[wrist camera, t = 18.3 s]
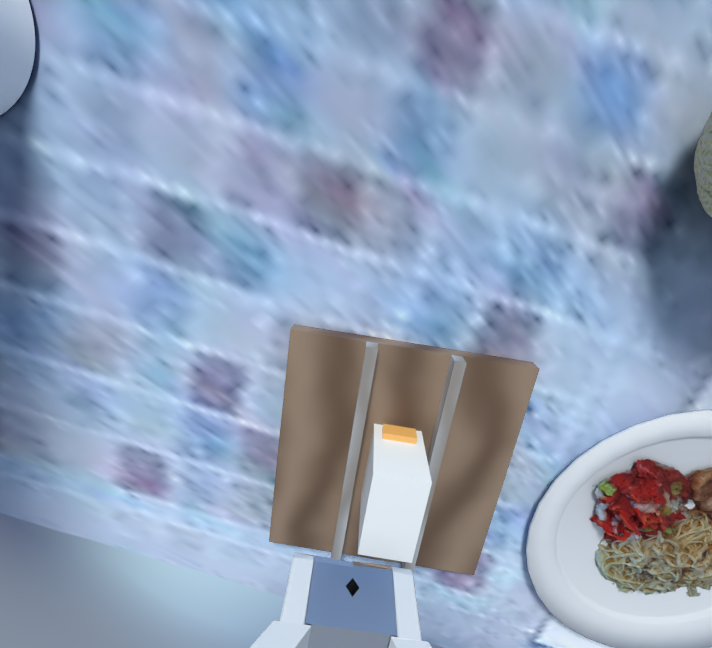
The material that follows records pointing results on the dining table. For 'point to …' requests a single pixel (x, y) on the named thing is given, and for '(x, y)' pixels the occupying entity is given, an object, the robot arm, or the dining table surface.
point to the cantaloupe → (704, 167)
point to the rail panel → (400, 408)
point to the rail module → (393, 493)
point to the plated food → (631, 537)
